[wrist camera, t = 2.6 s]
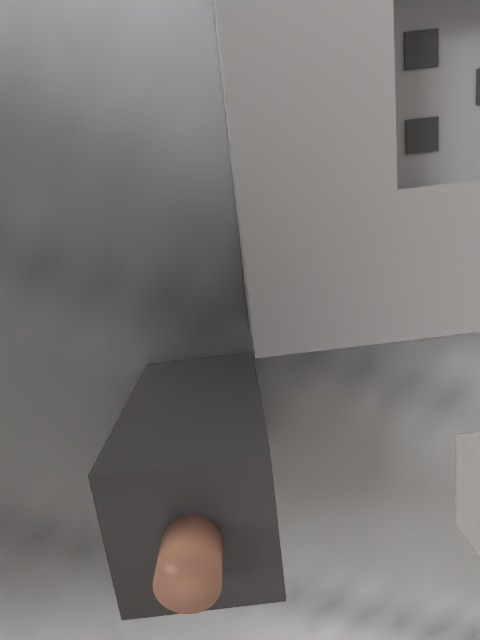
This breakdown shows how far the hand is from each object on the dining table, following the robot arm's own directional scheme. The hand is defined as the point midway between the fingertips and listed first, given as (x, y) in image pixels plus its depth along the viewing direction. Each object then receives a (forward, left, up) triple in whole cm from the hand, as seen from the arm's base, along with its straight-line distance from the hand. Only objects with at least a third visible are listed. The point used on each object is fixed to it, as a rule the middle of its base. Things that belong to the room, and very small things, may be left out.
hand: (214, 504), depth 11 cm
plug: (0, 0, -5) cm, 5 cm away
